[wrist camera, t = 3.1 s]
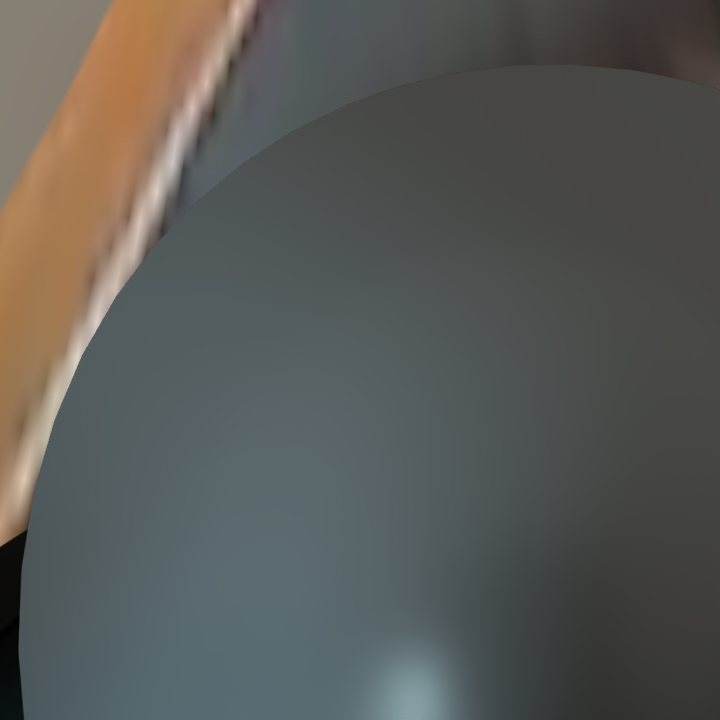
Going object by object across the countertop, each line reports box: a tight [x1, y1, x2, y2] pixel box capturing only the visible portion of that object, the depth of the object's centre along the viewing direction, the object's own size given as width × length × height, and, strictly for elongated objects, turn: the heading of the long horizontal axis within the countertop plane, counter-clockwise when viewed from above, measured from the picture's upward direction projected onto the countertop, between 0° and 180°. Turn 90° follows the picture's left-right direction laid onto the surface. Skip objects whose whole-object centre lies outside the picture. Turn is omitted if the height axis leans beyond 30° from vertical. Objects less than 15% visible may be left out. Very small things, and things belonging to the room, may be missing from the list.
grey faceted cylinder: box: [18, 65, 720, 720], centre depth 10 cm, size 7×7×12 cm
